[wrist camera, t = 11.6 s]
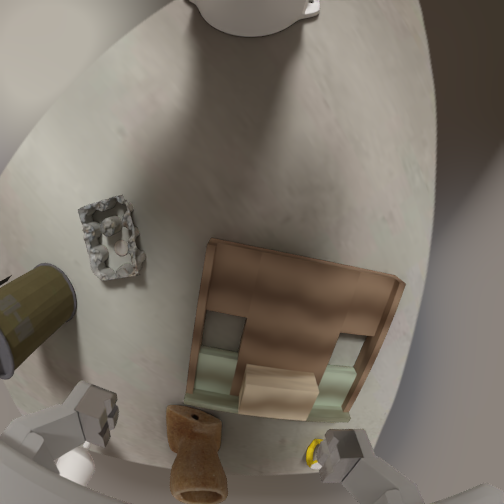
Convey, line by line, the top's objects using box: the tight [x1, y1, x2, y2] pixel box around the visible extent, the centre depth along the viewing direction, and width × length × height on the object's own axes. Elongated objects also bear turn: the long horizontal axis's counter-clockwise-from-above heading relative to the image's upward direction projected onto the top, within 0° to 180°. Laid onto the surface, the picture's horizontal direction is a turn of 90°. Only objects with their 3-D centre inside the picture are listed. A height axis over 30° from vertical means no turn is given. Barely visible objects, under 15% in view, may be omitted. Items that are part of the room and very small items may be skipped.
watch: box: [306, 439, 323, 469], centre depth 45 cm, size 6×3×6 cm, turn 162°
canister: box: [0, 263, 76, 379], centre depth 30 cm, size 11×10×20 cm
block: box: [238, 364, 319, 421], centre depth 39 cm, size 6×10×4 cm, turn 78°
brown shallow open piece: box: [184, 238, 406, 422], centre depth 39 cm, size 24×26×5 cm
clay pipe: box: [166, 405, 228, 504], centre depth 39 cm, size 15×12×15 cm
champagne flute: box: [56, 441, 95, 487], centre depth 35 cm, size 7×7×24 cm
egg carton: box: [78, 195, 146, 281], centre depth 36 cm, size 11×8×4 cm
